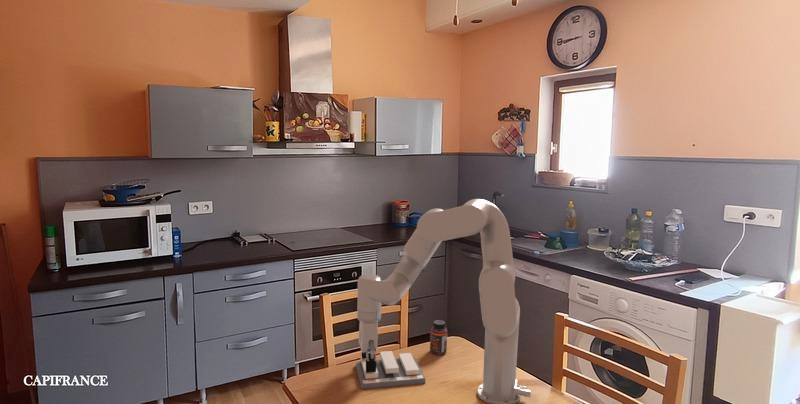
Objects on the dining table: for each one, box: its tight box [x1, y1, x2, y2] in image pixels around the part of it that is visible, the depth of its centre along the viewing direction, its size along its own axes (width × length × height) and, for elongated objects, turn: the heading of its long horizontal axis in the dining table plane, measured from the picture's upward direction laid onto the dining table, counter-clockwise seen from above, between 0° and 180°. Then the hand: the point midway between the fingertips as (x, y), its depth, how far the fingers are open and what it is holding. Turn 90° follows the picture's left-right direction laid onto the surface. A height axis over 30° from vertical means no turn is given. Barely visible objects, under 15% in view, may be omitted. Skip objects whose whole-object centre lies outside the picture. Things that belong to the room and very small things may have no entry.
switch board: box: [355, 356, 426, 390], centre depth 159 cm, size 20×15×2 cm
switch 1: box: [360, 356, 378, 379], centre depth 159 cm, size 4×12×2 cm, turn 12°
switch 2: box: [398, 352, 419, 375], centre depth 161 cm, size 4×12×2 cm, turn 12°
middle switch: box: [379, 350, 399, 374], centre depth 160 cm, size 4×12×2 cm, turn 12°
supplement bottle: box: [429, 319, 448, 356], centre depth 175 cm, size 6×6×11 cm
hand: (368, 364), depth 158 cm, fingers open, 9 cm apart
